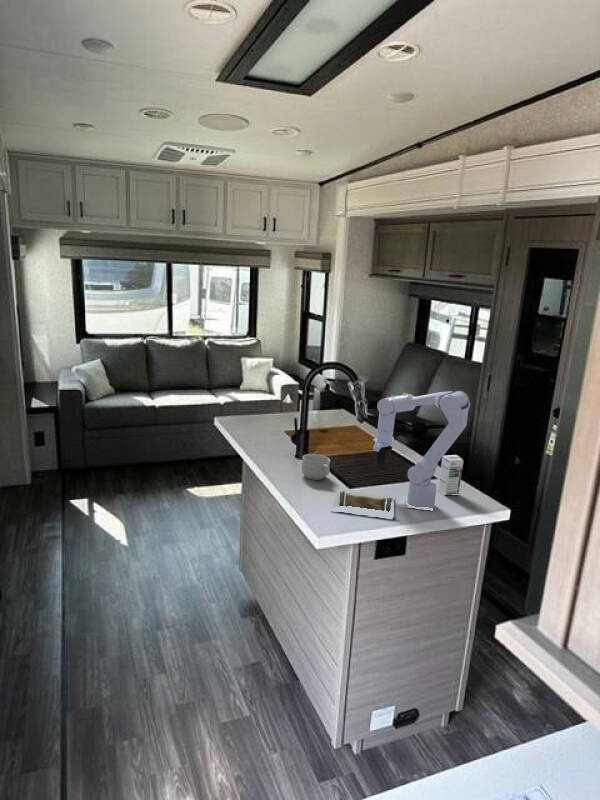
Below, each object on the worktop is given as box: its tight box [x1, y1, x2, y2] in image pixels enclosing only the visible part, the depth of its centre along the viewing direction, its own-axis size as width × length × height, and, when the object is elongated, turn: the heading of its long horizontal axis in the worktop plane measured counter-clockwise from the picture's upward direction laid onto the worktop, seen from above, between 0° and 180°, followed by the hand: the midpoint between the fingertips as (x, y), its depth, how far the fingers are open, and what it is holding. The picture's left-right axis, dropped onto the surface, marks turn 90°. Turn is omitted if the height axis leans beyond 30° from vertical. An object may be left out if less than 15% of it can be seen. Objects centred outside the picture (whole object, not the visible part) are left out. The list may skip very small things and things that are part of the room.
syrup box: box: [437, 454, 464, 495], centre depth 208 cm, size 6×6×14 cm
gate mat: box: [332, 488, 396, 508], centre depth 194 cm, size 21×18×1 cm
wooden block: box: [345, 493, 386, 511], centre depth 189 cm, size 14×1×4 cm, turn 81°
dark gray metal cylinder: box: [339, 491, 392, 512], centre depth 189 cm, size 18×2×6 cm, turn 80°
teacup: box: [301, 453, 331, 481], centre depth 213 cm, size 14×11×8 cm
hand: (381, 464), depth 204 cm, fingers closed
